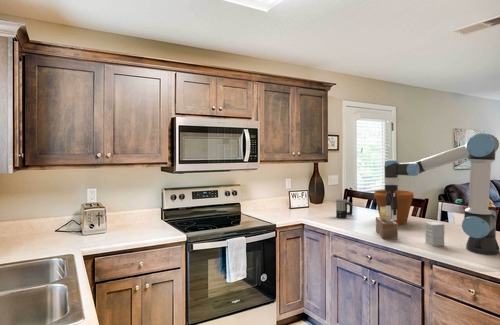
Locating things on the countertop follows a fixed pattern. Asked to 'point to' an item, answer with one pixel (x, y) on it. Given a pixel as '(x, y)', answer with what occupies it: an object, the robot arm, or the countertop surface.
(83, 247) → the countertop surface
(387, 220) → the grey block
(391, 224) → the socket block
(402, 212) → the flowerpot
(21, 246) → the countertop surface
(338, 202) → the milk frother
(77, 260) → the countertop surface
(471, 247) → the robot arm
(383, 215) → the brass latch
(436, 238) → the supplement box
